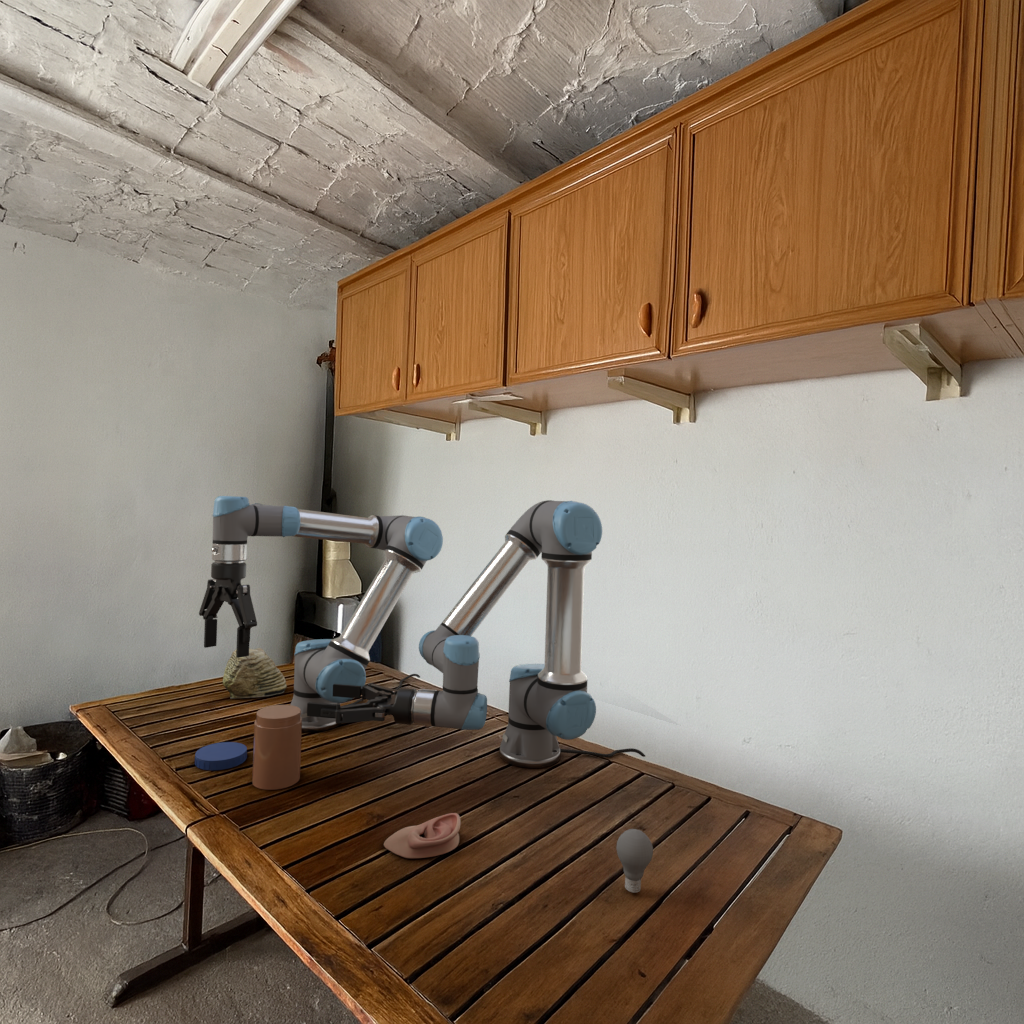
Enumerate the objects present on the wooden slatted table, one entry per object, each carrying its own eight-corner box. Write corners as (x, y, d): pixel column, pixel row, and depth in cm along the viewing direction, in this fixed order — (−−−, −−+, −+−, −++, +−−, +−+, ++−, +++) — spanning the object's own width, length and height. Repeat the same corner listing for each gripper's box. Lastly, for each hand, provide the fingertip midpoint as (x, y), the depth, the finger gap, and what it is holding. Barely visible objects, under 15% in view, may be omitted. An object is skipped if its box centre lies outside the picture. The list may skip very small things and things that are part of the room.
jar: (289, 791, 136) (292, 720, 135) (244, 788, 136) (246, 717, 136) (306, 771, 146) (309, 705, 145) (263, 768, 146) (266, 703, 146)
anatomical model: (377, 831, 113) (401, 802, 124) (376, 853, 113) (400, 822, 124) (448, 842, 110) (466, 811, 122) (447, 865, 111) (465, 832, 122)
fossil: (218, 695, 195) (220, 647, 195) (278, 685, 208) (279, 640, 207) (228, 703, 189) (230, 653, 188) (289, 692, 201) (290, 645, 201)
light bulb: (610, 879, 108) (613, 822, 108) (644, 879, 109) (647, 822, 109) (619, 902, 102) (622, 840, 102) (655, 901, 103) (658, 840, 103)
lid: (245, 748, 157) (245, 739, 157) (248, 766, 147) (248, 756, 147) (194, 754, 152) (195, 745, 152) (194, 773, 142) (194, 763, 142)
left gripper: (185, 557, 153) (182, 645, 153) (245, 567, 139) (241, 664, 139) (215, 556, 159) (212, 640, 159) (275, 565, 145) (271, 658, 145)
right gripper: (397, 745, 125) (294, 736, 127) (428, 705, 149) (342, 698, 152) (399, 708, 125) (296, 699, 127) (429, 674, 149) (343, 667, 152)
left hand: (225, 651), depth 149 cm, fingers open, 13 cm apart
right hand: (321, 699), depth 139 cm, fingers open, 13 cm apart
